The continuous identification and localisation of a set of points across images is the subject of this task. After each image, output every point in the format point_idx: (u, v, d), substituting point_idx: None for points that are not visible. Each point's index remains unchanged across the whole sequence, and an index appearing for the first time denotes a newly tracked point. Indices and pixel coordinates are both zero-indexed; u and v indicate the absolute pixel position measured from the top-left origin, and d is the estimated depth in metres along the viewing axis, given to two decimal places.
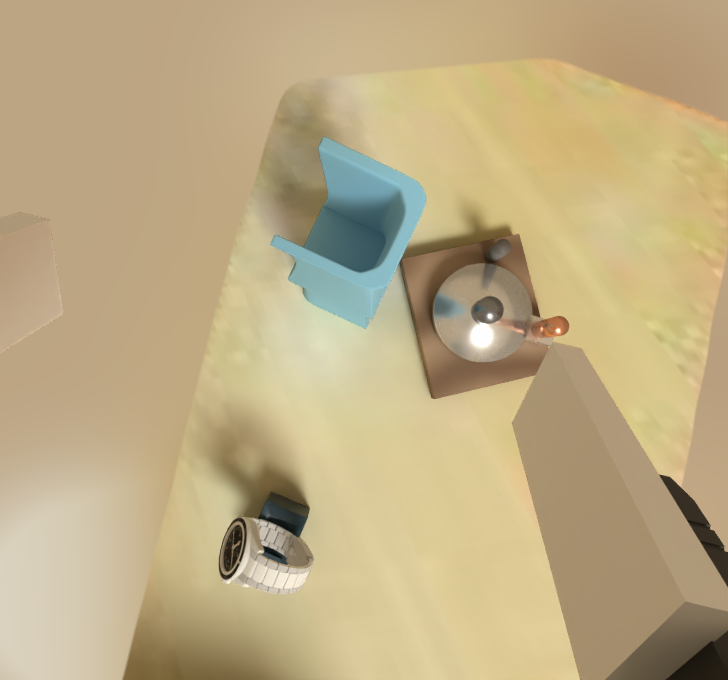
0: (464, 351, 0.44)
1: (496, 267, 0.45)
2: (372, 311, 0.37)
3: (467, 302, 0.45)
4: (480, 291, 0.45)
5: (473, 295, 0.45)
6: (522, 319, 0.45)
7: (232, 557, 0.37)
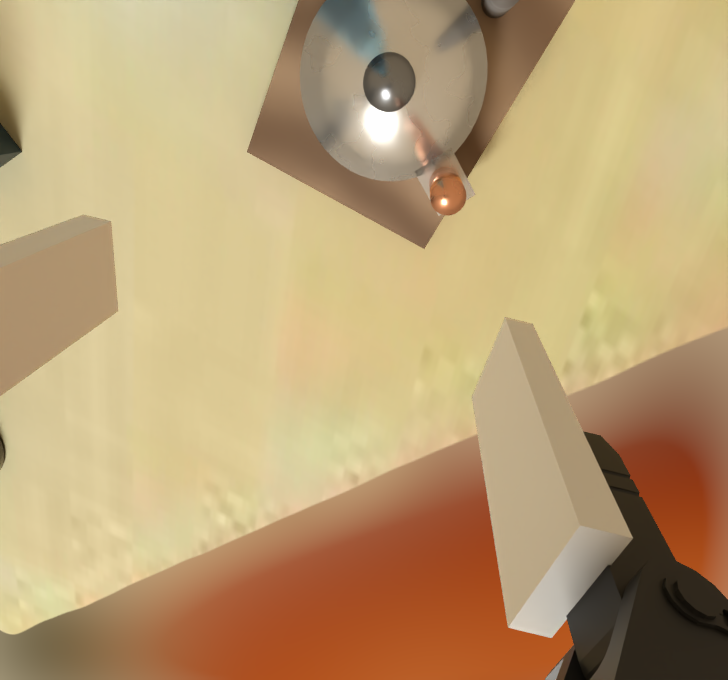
0: (317, 118, 0.25)
1: (473, 22, 0.22)
2: None
3: (380, 43, 0.23)
4: (414, 42, 0.23)
5: (398, 39, 0.23)
6: (435, 146, 0.25)
7: None
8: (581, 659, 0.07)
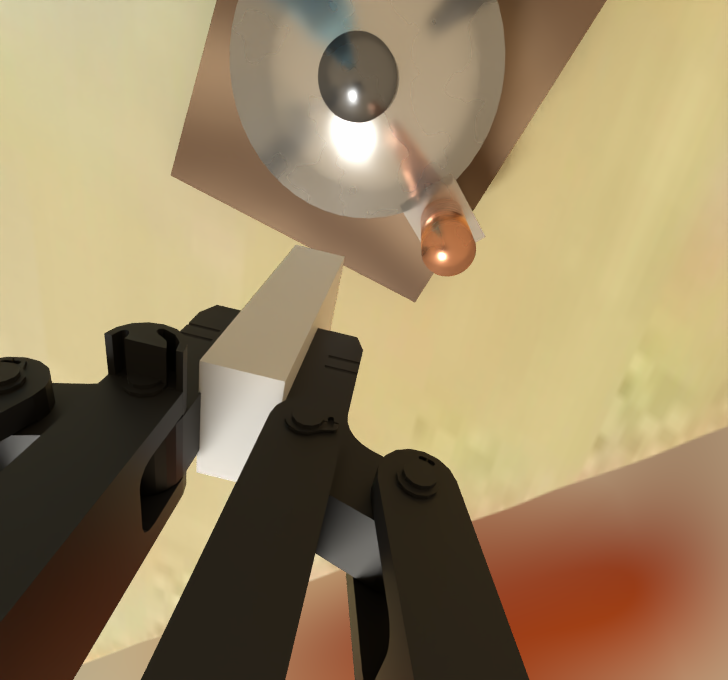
0: (259, 130, 0.17)
1: None
2: None
3: (345, 19, 0.15)
4: (396, 19, 0.15)
5: (372, 14, 0.15)
6: (428, 170, 0.17)
7: None
8: None
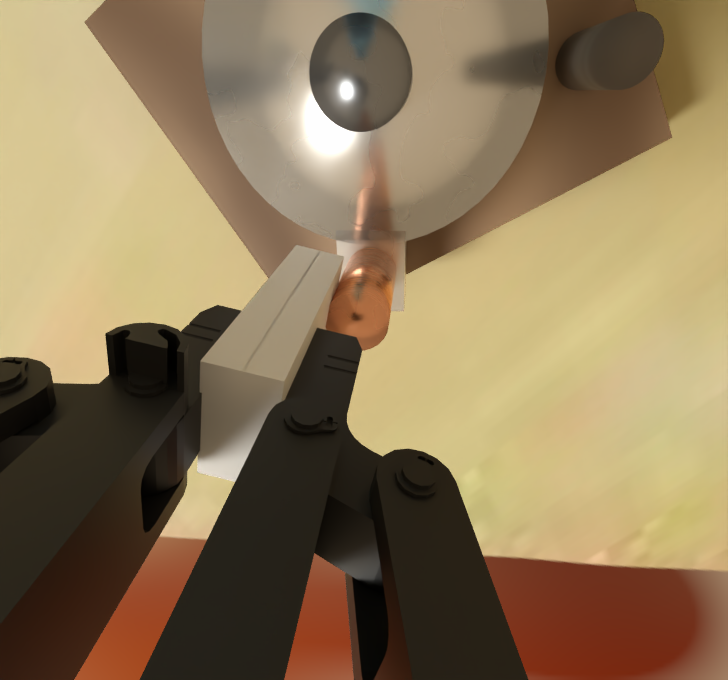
0: (221, 49, 0.13)
1: (538, 72, 0.12)
2: None
3: None
4: (436, 37, 0.12)
5: (415, 13, 0.12)
6: (384, 215, 0.15)
7: None
8: None
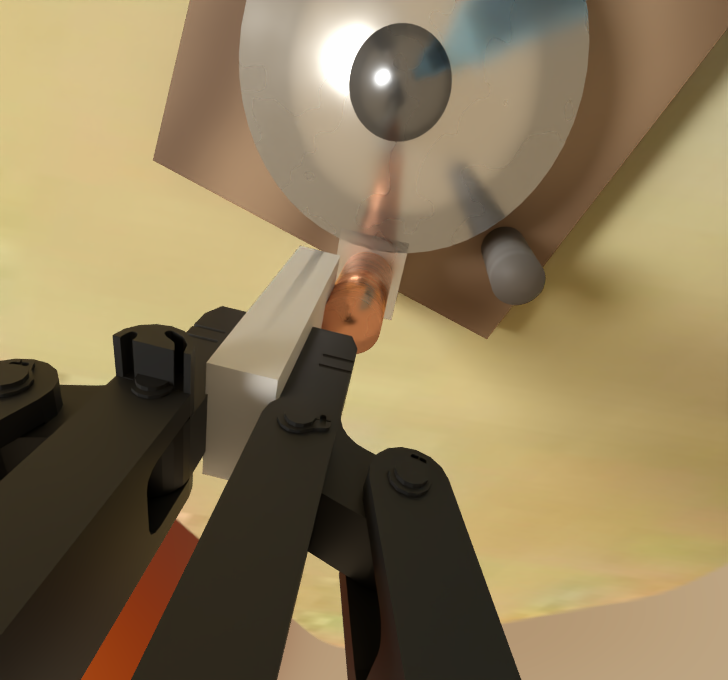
0: (262, 23, 0.13)
1: (567, 120, 0.13)
2: None
3: (435, 12, 0.12)
4: (478, 64, 0.12)
5: (463, 35, 0.12)
6: (392, 224, 0.15)
7: None
8: None
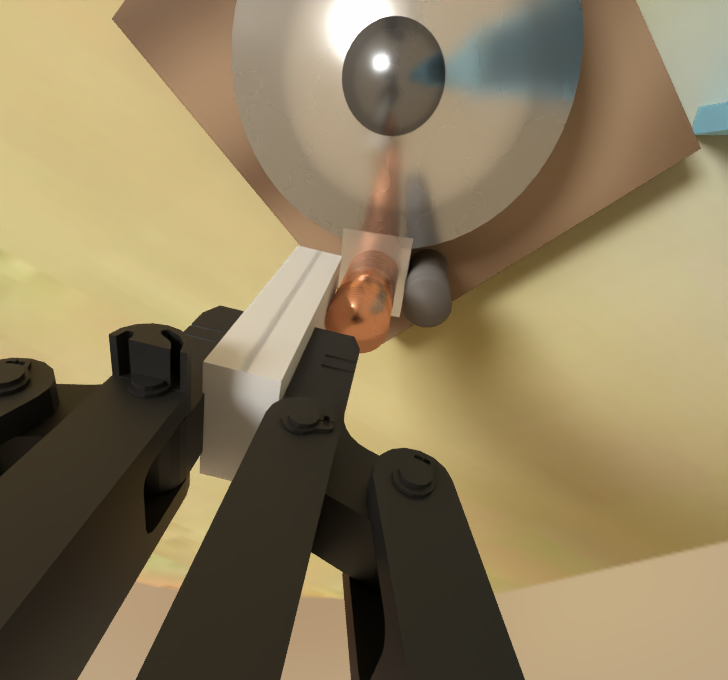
0: (252, 29, 0.13)
1: (565, 102, 0.13)
2: None
3: (425, 3, 0.12)
4: (471, 52, 0.12)
5: (454, 24, 0.12)
6: (394, 220, 0.15)
7: None
8: None
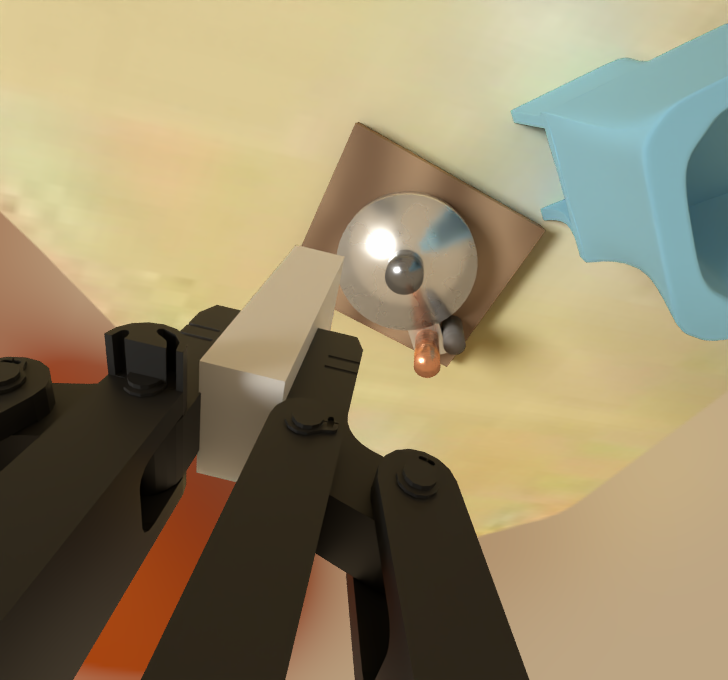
0: (345, 273, 0.32)
1: (472, 248, 0.30)
2: (557, 118, 0.20)
3: (404, 240, 0.31)
4: (428, 247, 0.31)
5: (417, 242, 0.31)
6: (426, 315, 0.33)
7: None
8: None
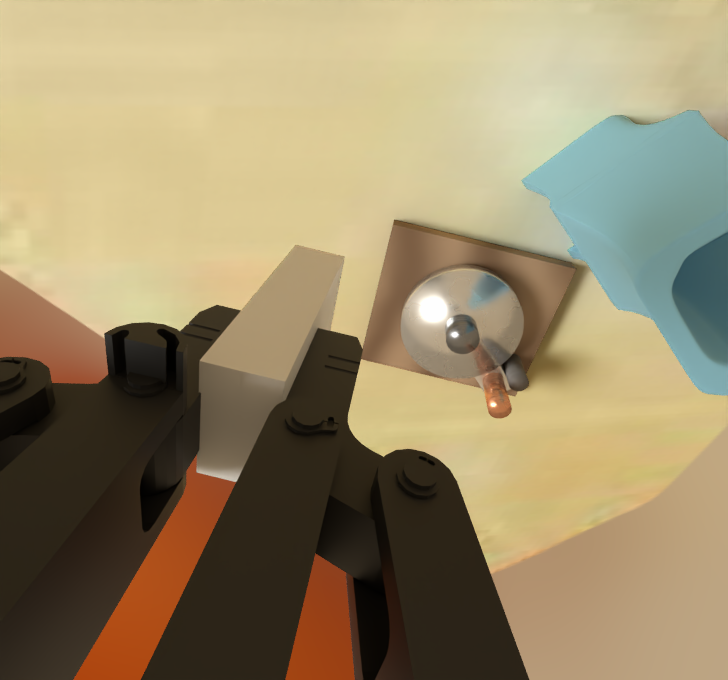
0: (410, 343, 0.38)
1: (515, 301, 0.35)
2: (565, 216, 0.25)
3: (455, 308, 0.36)
4: (477, 309, 0.36)
5: (467, 307, 0.36)
6: (487, 361, 0.38)
7: None
8: None
